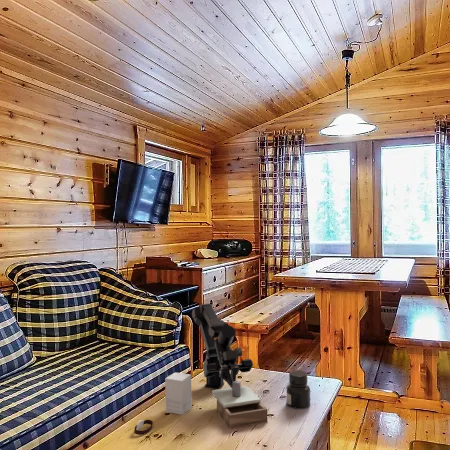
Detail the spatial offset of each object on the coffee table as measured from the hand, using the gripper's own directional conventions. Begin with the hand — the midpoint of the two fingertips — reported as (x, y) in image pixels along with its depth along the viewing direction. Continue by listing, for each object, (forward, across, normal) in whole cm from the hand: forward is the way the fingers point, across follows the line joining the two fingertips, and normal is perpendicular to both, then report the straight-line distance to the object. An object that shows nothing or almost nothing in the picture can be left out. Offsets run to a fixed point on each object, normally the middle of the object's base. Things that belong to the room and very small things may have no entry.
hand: (233, 388), depth 169 cm
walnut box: (+11, 0, 0) cm, 11 cm away
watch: (+10, -35, +1) cm, 36 cm away
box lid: (+3, 0, +1) cm, 3 cm away
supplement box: (+1, -20, +10) cm, 22 cm away
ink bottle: (+9, +24, +2) cm, 26 cm away
